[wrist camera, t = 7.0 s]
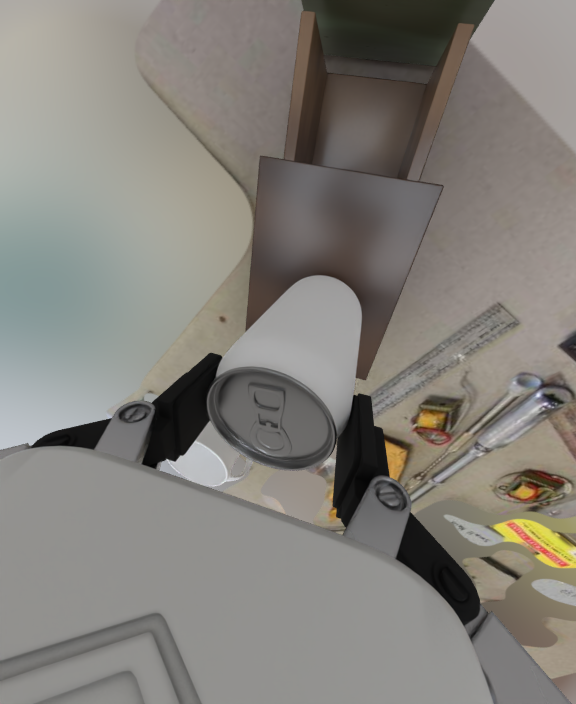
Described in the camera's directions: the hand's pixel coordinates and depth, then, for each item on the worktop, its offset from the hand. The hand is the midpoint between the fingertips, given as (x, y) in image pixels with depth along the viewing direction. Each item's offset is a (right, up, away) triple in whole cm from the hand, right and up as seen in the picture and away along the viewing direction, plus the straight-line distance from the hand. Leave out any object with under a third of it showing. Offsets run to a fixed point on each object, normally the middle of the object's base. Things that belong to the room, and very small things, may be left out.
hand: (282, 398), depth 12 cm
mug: (-7, -7, +29) cm, 30 cm away
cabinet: (+5, +12, +15) cm, 20 cm away
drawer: (+7, +22, +8) cm, 24 cm away
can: (+3, +5, +8) cm, 10 cm away
